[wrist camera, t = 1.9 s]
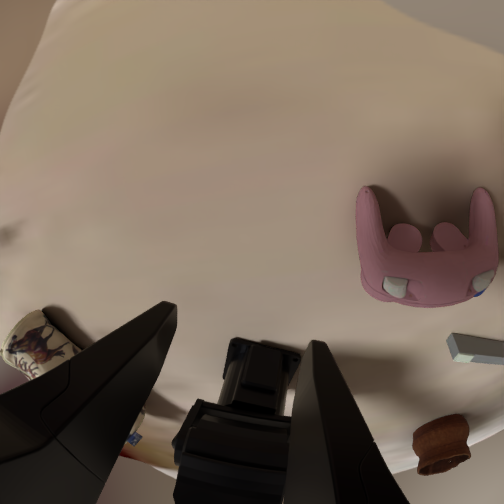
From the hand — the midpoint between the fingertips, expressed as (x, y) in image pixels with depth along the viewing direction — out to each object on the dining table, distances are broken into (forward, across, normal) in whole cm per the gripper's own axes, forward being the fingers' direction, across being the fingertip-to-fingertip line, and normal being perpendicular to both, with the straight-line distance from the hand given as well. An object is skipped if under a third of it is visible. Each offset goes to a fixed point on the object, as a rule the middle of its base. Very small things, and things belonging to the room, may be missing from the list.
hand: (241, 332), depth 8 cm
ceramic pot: (+13, -30, +26) cm, 42 cm away
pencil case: (+12, +20, +28) cm, 37 cm away
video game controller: (+12, -10, 0) cm, 16 cm away
